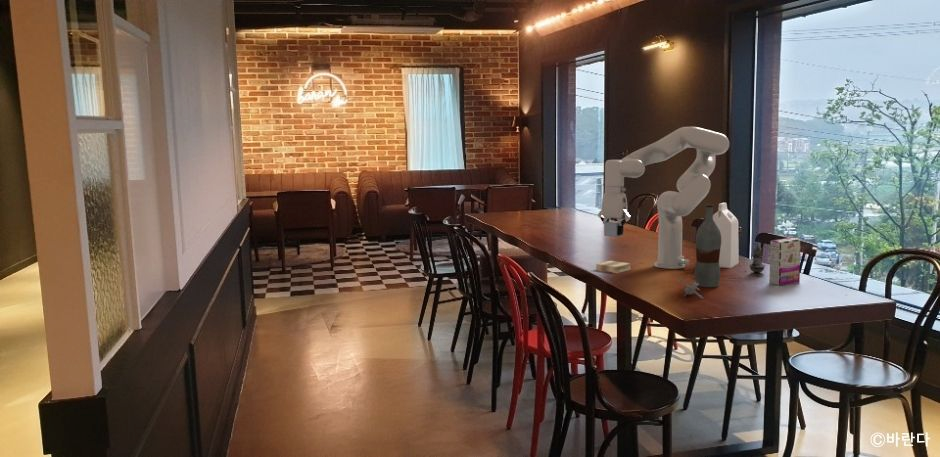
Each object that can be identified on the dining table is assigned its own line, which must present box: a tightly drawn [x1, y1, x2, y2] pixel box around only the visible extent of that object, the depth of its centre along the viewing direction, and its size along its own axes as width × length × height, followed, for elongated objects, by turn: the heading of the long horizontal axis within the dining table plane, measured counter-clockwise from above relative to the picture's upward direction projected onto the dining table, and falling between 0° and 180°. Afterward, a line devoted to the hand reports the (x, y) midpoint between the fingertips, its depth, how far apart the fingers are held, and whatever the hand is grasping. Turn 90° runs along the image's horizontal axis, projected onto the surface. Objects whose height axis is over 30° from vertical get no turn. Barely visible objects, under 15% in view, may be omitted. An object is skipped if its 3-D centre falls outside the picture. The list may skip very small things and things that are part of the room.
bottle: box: [693, 203, 722, 288], centre depth 264 cm, size 9×9×30 cm
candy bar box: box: [768, 237, 802, 287], centre depth 266 cm, size 11×5×16 cm, turn 117°
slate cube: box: [603, 220, 624, 238], centre depth 294 cm, size 6×6×6 cm
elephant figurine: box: [679, 278, 704, 300], centre depth 248 cm, size 10×6×9 cm
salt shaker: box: [748, 244, 766, 277], centre depth 282 cm, size 6×6×12 cm
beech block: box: [595, 260, 631, 274], centre depth 296 cm, size 10×10×3 cm
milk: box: [713, 202, 740, 269], centre depth 303 cm, size 12×12×26 cm
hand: (613, 233), depth 294 cm, fingers closed on slate cube, 5 cm apart
